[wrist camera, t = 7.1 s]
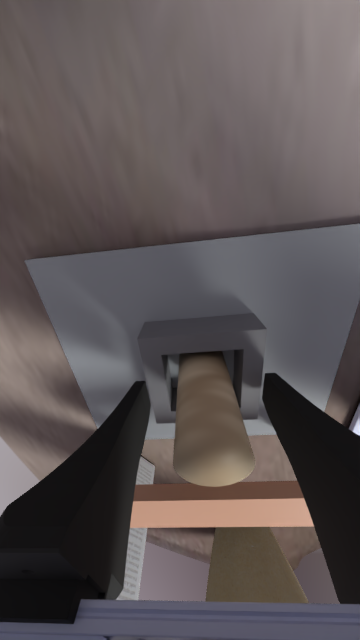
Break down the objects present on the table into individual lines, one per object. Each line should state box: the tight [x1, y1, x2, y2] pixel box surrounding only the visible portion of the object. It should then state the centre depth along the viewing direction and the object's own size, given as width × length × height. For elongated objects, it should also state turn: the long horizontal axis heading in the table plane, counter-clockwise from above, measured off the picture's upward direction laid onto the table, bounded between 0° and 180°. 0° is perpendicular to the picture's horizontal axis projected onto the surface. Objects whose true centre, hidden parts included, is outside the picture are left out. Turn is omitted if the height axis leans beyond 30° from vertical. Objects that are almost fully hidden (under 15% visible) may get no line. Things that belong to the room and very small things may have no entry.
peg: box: [173, 351, 255, 487], centre depth 11 cm, size 3×3×7 cm
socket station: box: [24, 223, 360, 528], centre depth 12 cm, size 20×17×7 cm
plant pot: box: [205, 527, 309, 603], centre depth 20 cm, size 15×15×16 cm
